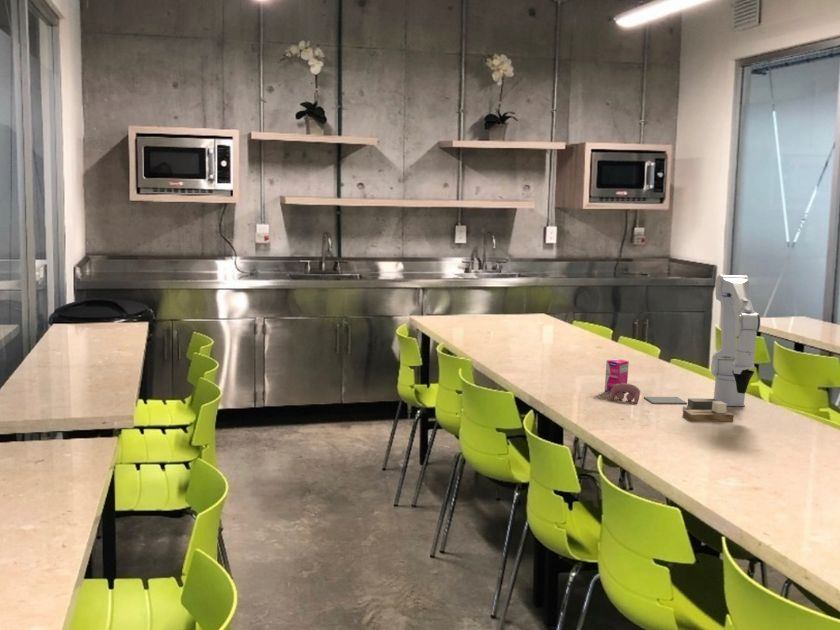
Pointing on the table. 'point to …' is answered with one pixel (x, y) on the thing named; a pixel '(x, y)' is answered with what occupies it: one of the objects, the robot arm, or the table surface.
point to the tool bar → (699, 404)
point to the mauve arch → (620, 388)
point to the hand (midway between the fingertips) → (741, 392)
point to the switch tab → (719, 407)
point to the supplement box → (615, 373)
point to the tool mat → (665, 400)
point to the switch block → (707, 415)
